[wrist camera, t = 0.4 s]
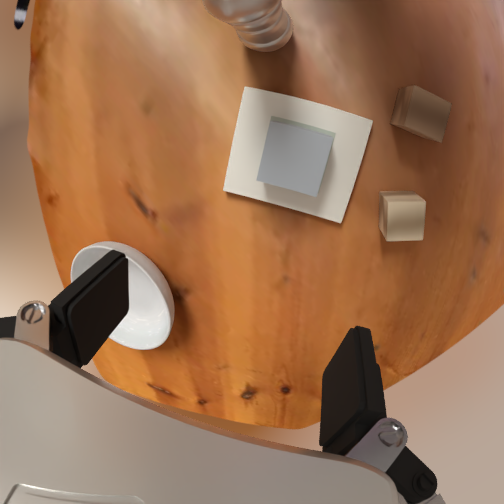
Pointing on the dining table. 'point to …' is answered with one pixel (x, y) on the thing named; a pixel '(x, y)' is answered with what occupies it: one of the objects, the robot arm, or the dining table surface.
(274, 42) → the plastic bottle
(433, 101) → the walnut block
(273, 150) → the base block
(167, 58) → the dining table surface
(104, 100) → the dining table surface
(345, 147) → the board
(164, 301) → the serving bowl
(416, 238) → the birch block
